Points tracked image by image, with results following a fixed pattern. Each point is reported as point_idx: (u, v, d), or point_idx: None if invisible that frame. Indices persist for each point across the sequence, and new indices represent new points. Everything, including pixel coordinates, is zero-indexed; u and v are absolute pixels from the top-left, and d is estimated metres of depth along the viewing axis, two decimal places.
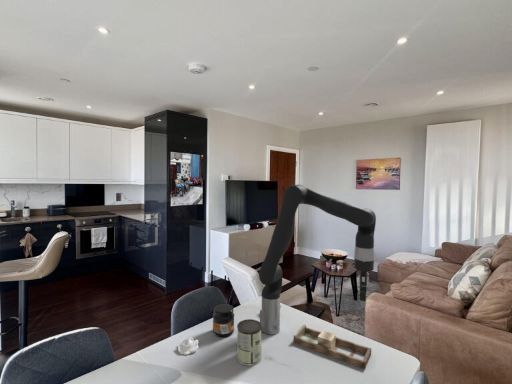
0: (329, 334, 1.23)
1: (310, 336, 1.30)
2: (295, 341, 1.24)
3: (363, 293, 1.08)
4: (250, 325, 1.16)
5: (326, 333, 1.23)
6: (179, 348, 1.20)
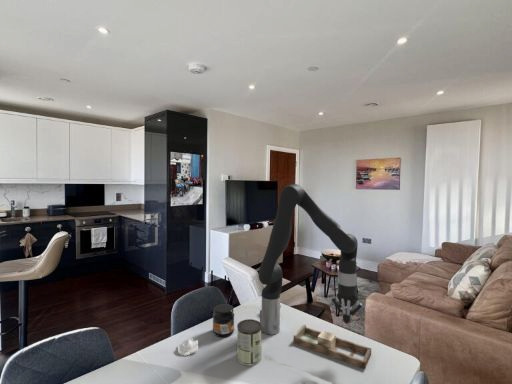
0: (329, 334, 1.23)
1: (310, 336, 1.30)
2: (295, 341, 1.24)
3: (350, 315, 1.16)
4: (250, 325, 1.16)
5: (326, 333, 1.23)
6: (179, 349, 1.19)
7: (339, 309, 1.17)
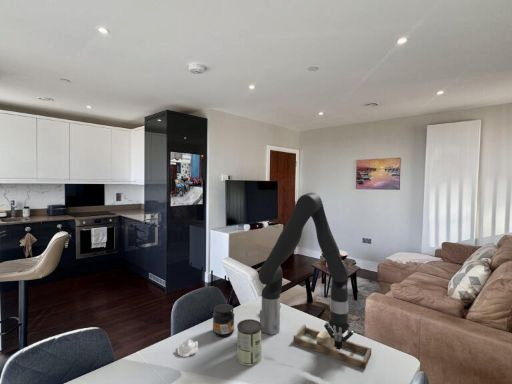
0: (328, 334, 1.23)
1: (310, 336, 1.30)
2: (295, 341, 1.24)
3: None
4: (250, 325, 1.16)
5: (325, 333, 1.24)
6: (178, 350, 1.19)
7: (331, 335, 1.19)
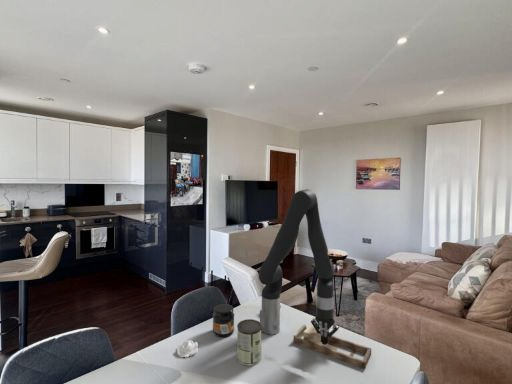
0: None
1: None
2: (295, 341, 1.24)
3: (327, 336, 1.22)
4: (250, 325, 1.16)
5: (312, 329, 1.27)
6: (178, 351, 1.18)
7: (317, 331, 1.23)
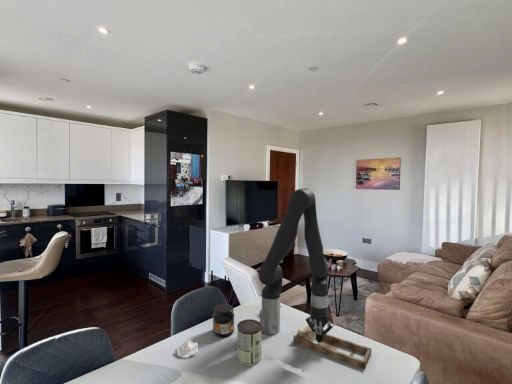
0: (310, 328, 1.28)
1: None
2: (295, 341, 1.24)
3: (322, 335, 1.23)
4: (250, 325, 1.16)
5: (307, 327, 1.29)
6: (178, 351, 1.18)
7: (312, 329, 1.24)
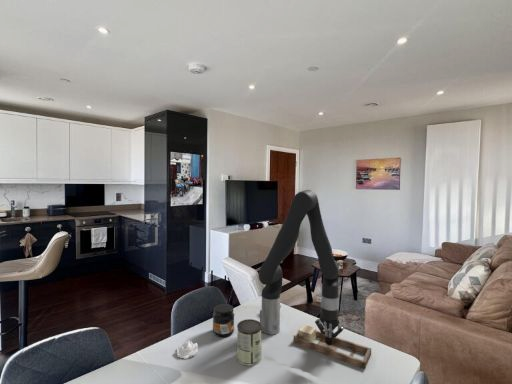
0: (310, 328, 1.28)
1: None
2: (295, 341, 1.24)
3: (332, 337, 1.21)
4: (250, 325, 1.16)
5: (307, 327, 1.29)
6: (178, 352, 1.17)
7: (322, 331, 1.22)
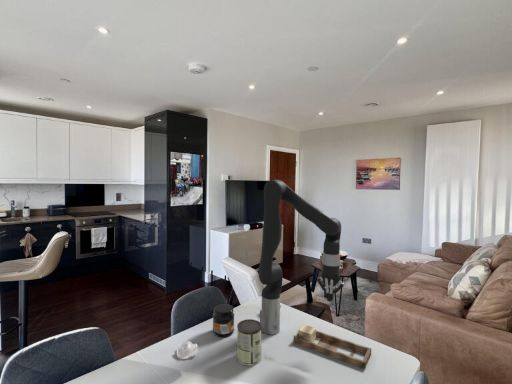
0: (310, 328, 1.28)
1: None
2: (295, 341, 1.24)
3: (333, 294, 1.23)
4: (250, 325, 1.16)
5: (307, 327, 1.29)
6: (178, 352, 1.17)
7: (323, 288, 1.25)
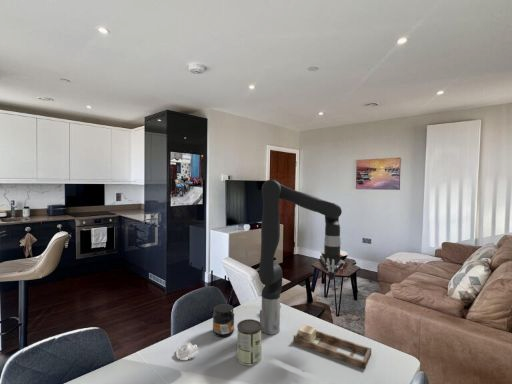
0: (310, 328, 1.28)
1: None
2: (295, 341, 1.24)
3: (334, 272, 1.34)
4: (250, 325, 1.16)
5: (307, 327, 1.29)
6: (177, 354, 1.16)
7: (325, 268, 1.35)
